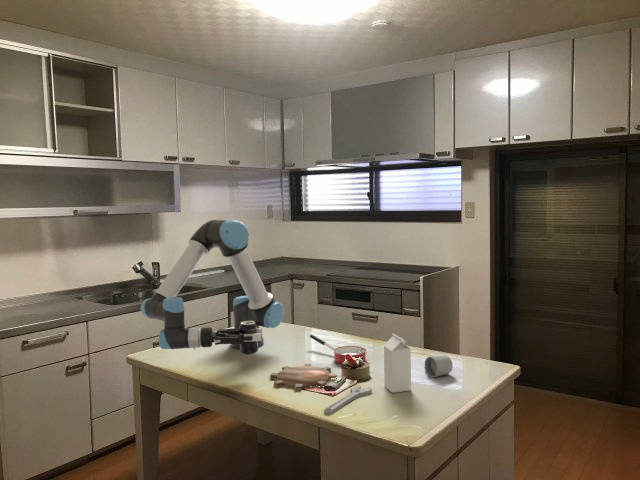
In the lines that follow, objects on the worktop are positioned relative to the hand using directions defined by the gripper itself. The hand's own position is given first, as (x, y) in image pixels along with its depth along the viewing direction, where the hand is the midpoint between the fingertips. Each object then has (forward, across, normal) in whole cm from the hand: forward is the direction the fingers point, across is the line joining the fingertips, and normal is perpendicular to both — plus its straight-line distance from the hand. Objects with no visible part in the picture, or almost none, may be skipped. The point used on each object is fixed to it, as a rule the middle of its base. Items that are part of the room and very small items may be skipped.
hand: (261, 334), depth 202 cm
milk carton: (+48, +21, -17) cm, 55 cm away
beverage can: (-5, 0, -7) cm, 9 cm away
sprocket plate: (+15, +6, -16) cm, 23 cm away
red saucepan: (+29, -20, -17) cm, 39 cm away
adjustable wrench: (+29, +29, -17) cm, 44 cm away
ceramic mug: (+66, +8, -17) cm, 68 cm away
